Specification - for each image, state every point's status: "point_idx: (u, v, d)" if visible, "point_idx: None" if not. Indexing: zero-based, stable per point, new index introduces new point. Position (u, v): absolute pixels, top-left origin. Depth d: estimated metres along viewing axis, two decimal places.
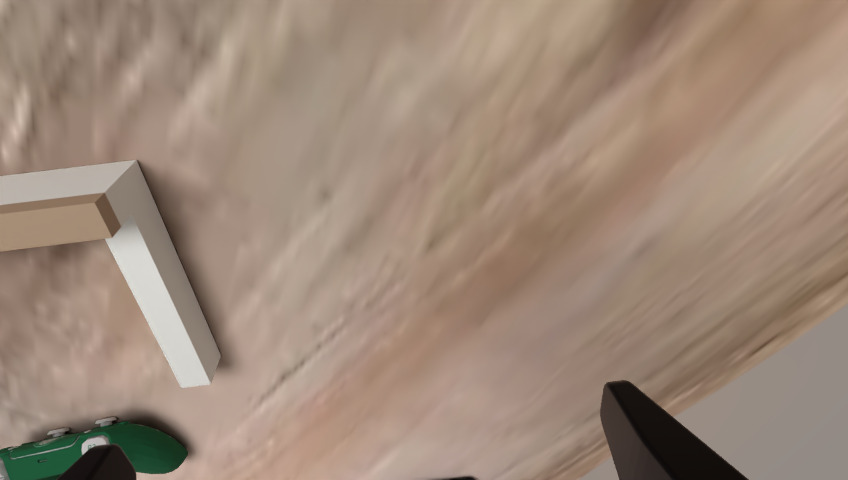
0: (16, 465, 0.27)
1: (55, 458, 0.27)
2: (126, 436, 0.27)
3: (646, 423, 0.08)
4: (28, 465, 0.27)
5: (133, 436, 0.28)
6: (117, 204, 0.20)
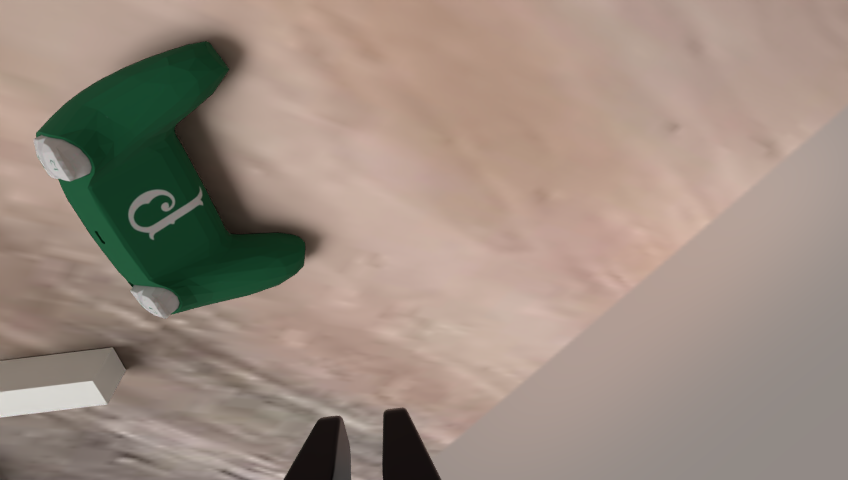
0: (123, 271, 0.18)
1: (89, 219, 0.17)
2: None
3: (395, 454, 0.08)
4: (116, 256, 0.17)
5: (67, 102, 0.16)
6: None
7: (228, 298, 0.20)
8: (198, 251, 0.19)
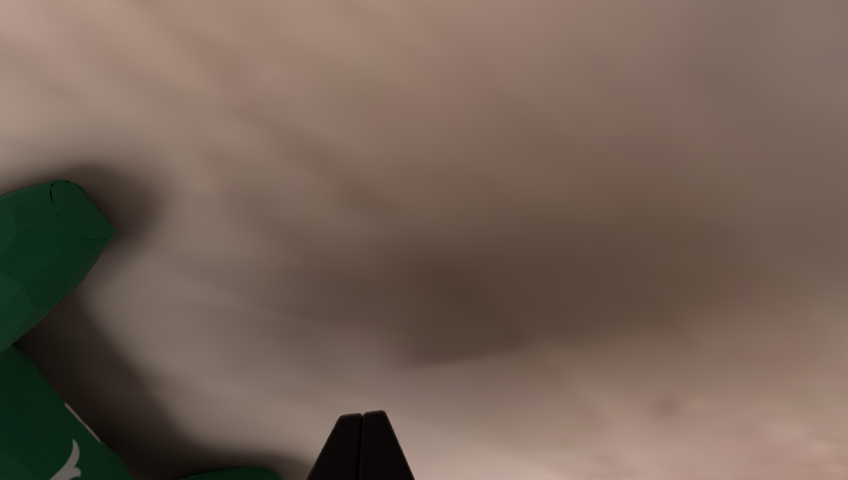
0: None
1: None
2: None
3: (372, 458, 0.08)
4: None
5: None
6: None
7: None
8: None
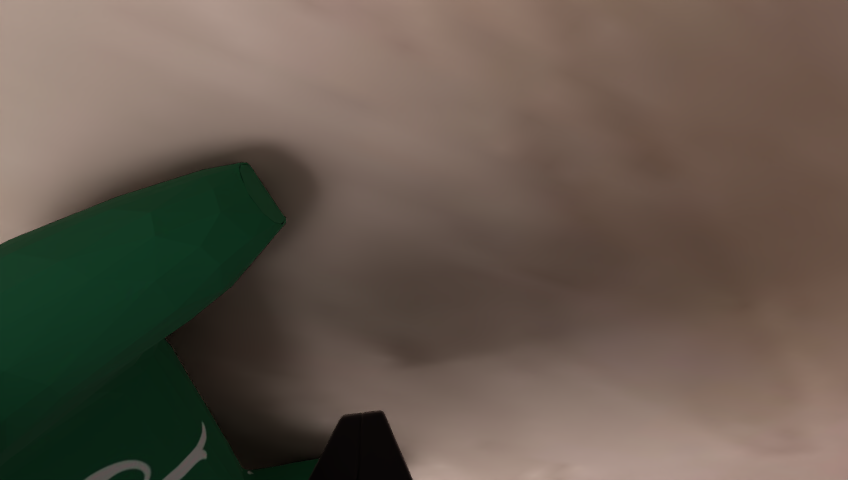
0: None
1: None
2: None
3: (369, 458, 0.08)
4: None
5: None
6: None
7: None
8: None
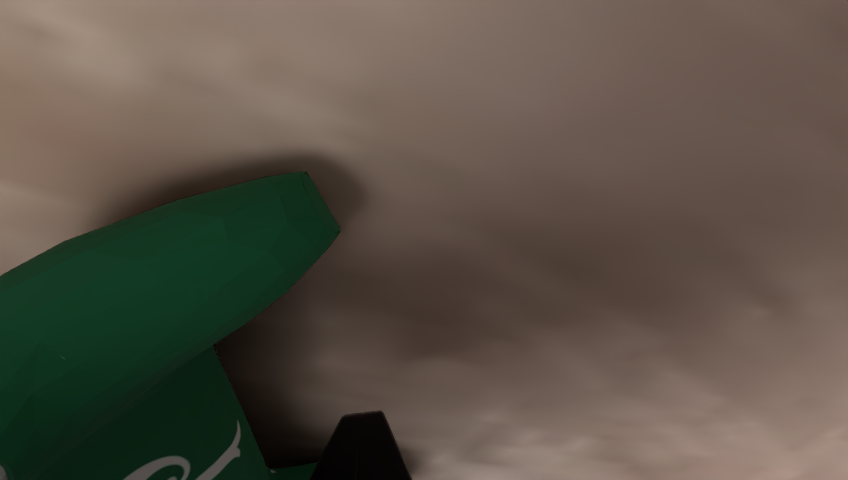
0: None
1: None
2: None
3: (369, 458, 0.08)
4: None
5: None
6: None
7: None
8: None
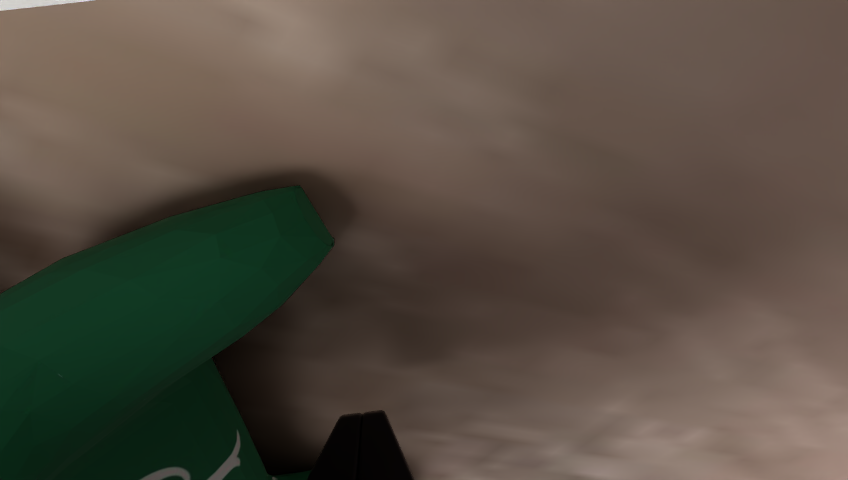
0: None
1: None
2: None
3: (371, 457, 0.08)
4: None
5: None
6: None
7: None
8: None
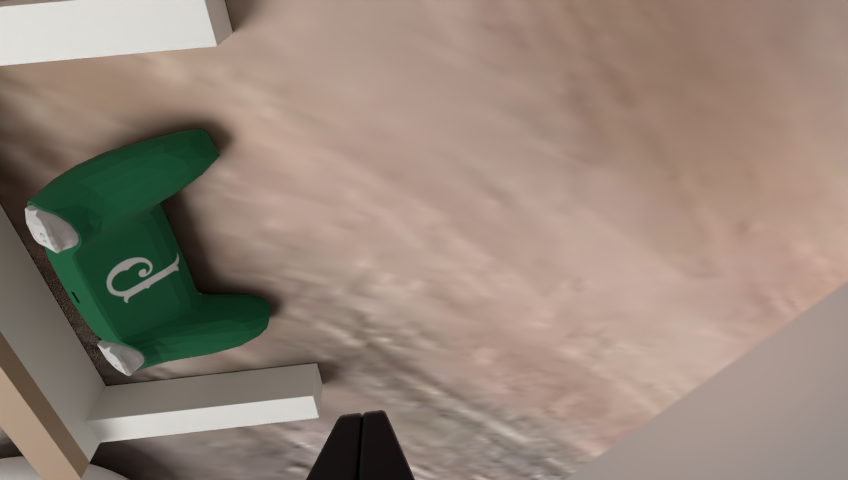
0: (94, 327, 0.19)
1: (67, 281, 0.17)
2: (50, 182, 0.17)
3: (371, 458, 0.08)
4: (88, 315, 0.18)
5: (61, 175, 0.17)
6: None
7: (191, 356, 0.21)
8: (168, 313, 0.20)
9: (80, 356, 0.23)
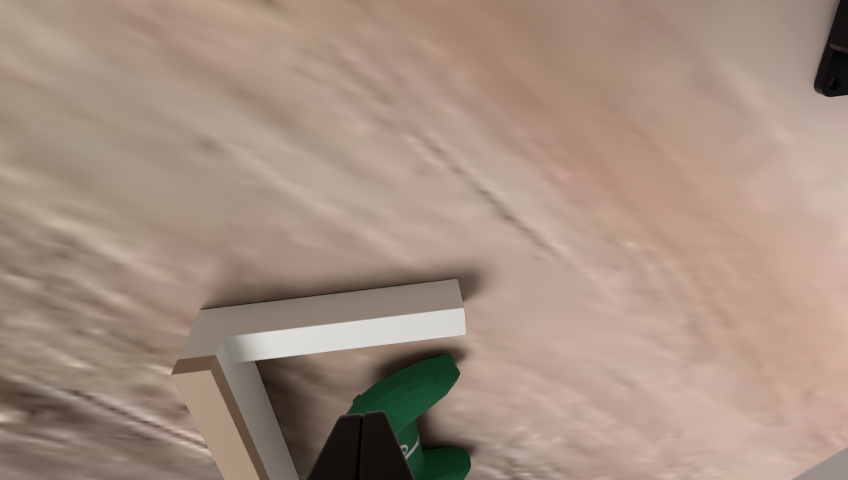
0: None
1: None
2: (358, 407, 0.24)
3: (372, 457, 0.08)
4: None
5: (364, 401, 0.24)
6: (199, 349, 0.21)
7: None
8: None
9: None
